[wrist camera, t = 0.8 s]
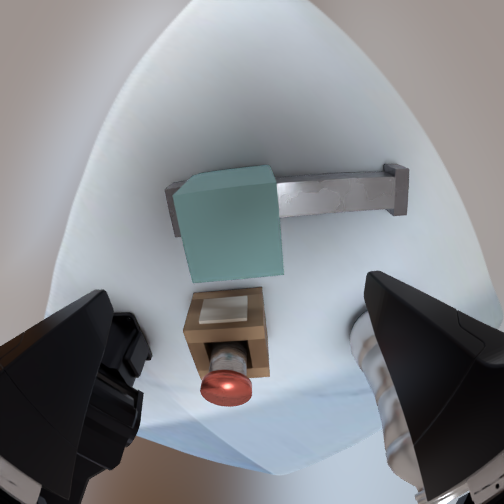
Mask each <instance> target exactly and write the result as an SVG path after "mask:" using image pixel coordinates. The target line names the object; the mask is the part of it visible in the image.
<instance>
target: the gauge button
mask: <svg viewBox="0 0 504 504" xmlns="http://www.w3.org/2000/svg"><path fill="white" fill-rule="evenodd" d="M246 374H247V340H241V341H225V342H213V347H212V353H211V360H210V367H209V373H207V374H206V375H205V376H204V377H203V379H202V383H201V390H200V392H201V395H202V396H203V397H204V398H205V399H206V400H207V401H209V402H211V403H213V404H216V405H220V406H238V405H242V404H244V403H246V402H247V401H249V400H250V398H251V396H252V383H251V381H250V379H249V378H248V377H247V376H246Z"/></svg>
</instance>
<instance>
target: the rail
mask: <svg viewBox="0 0 504 504" xmlns="http://www.w3.org/2000/svg"><path fill="white" fill-rule="evenodd" d="M275 180H276V183H277V194H278V205H279V217H280V218H282V217H292V216H303V215H314V214H326V213H338V212H351V211H364V210H378V209H385V210H387V211H388V212H389V213H390V214H392V215H393V216H401V215H407V205H408V188H409V169H408V168H406V167H403V166H401V165H398V164H384V171H382V172H350V173H330V174H314V175H300V176H288V177H276V178H275ZM186 182H187V181H181V182H175V183H172V184H171V185H169V186H168V187H167V188H166V189H165V193H166V198H167V203H168V208H169V212H170V217H171V221H172V226H173V230H174V234H175V237H181V233H180V228H179V224H178V219H177V214H176V210H175V205H174V200H173V195H174V194H175V193H176V192H177V191H178V190H179V189H180V188H181V187H182V186H183V185H184V184H185V183H186Z"/></svg>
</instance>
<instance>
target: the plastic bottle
mask: <svg viewBox="0 0 504 504" xmlns="http://www.w3.org/2000/svg"><path fill="white" fill-rule="evenodd" d="M350 346H351V352H352V355H353V357H354V359H355V361H356V363H357V364H358V366H359V367H360V369H361V370H362V371H363V373H364V375H365V377H366V379H367V381H368V383H369V385H370V387H371V390H372V392H373V394H374V396H375V399H376V403H377V406H378V410H379V414H380V418H381V422H382V428H383V435H384V443H385V450H386V457H387V463H388V465H389V467H390V468H391V470H392V471H393V472H394V473H395V474H396V475H397V476H399V477H400V478H401V479H403V480H404V481H406V482H408V483H410V484H412V485H414V486H416V488H417V490H418V494H416V495H415V499H416V500H417V501H418V504H445V503H447V502H449V501H451V500H452V499H454V498H456V497H458V496H460V495H462V494H464V493H465V492H467V491H469V488H468V485H467V483H465V484H463V485H462V486H460V487H458V488H456V489H454V490H452V491H450V492H448V493H446V494H444V495H442V496H440V497H438V498H436V499H433V500H431V501H429V502H428V501H427V498H426V494H425V490H424V485H423V481H422V477H421V473H420V469H419V465H418V462H417V458H416V454H415V451H414V447H413V446H414V445H413V443H412V440H411V436H410V433H409V430H408V427H407V423H406V420H405V417H404V414H403V411H402V408H401V405H400V402H399V399H398V396H397V393H396V390H395V388H394V385H393V382H392V379H391V376H390V374H389V371H388V368H387V366H386V363H385V361H384V358H383V355H382V353H381V350H380V348H379V345H378V343H377V340H376V337H375V334H374V331H373V328H372V324H371V320H370V317H369V313H368V311H367V312H365V313H364V314H363V315H361V316H360V317H359V319H358V320H357V321H356V323H355V324H354V326H353V329H352V331H351V334H350Z"/></svg>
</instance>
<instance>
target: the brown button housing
mask: <svg viewBox="0 0 504 504" xmlns="http://www.w3.org/2000/svg"><path fill="white" fill-rule="evenodd" d="M183 333H184V336H185V338H186V341H187V344H188V347H189V349H190V352H191V355H192V358H193V360H194V363H195V365H196V368H197V371H198V373H199V376H200V378H201V380H202V379H203V377H204V376H205V375H206V374H207V373H209V367H210V360H211V353H212V347H213V342H225V341H241V340H247V374H246V376H247V377H248V378H257V377H270V370H269V353H268V337H267V328H266V319H265V310H264V302H263V293H262V287H258V288H247V289H236V290H225V291H213V292H200V293H194V294H193V297H192V301H191V304H190V308H189V311H188V314H187V318H186V321H185V325H184V328H183Z"/></svg>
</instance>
